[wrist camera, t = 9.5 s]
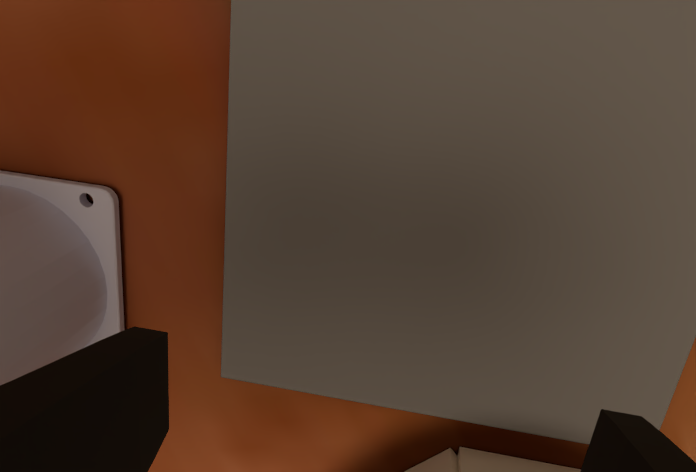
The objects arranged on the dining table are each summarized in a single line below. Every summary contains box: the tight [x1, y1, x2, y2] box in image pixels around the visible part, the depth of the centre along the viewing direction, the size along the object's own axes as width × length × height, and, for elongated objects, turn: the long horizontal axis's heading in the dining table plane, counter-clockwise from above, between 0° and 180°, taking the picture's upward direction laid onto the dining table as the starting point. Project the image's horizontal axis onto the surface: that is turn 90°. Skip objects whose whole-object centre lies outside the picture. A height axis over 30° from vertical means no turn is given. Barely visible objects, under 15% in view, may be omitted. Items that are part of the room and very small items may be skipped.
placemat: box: [221, 0, 696, 444], centre depth 17 cm, size 16×16×1 cm
